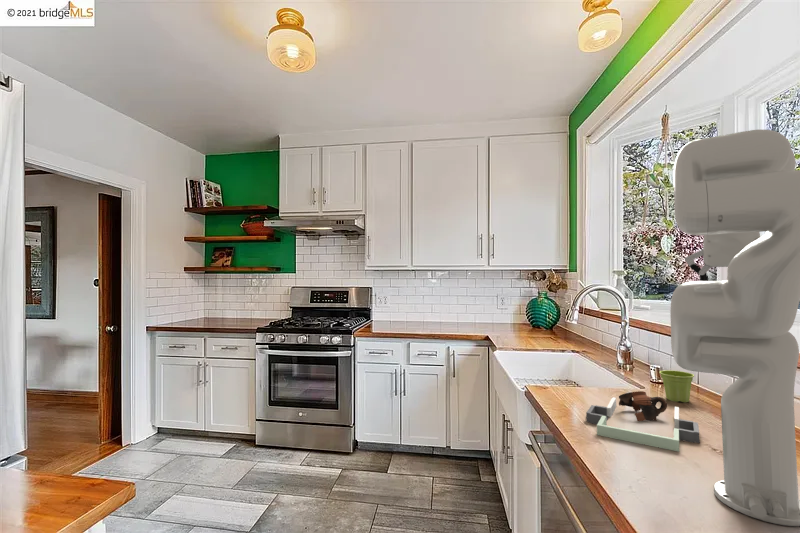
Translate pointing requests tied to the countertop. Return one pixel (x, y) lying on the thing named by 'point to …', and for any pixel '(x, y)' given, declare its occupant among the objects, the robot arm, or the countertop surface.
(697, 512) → the countertop surface
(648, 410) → the pottery mug
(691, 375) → the plant pot
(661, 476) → the countertop surface
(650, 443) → the pale green flat frame
